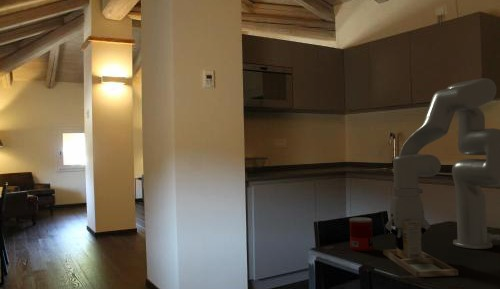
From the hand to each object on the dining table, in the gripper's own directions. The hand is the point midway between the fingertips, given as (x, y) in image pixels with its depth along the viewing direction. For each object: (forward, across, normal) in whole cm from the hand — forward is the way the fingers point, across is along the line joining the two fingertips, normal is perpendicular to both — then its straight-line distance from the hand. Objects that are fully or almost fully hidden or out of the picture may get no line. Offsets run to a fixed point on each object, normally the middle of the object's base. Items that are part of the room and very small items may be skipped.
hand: (408, 248), depth 129 cm
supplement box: (+4, 0, 0) cm, 4 cm away
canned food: (+4, +11, -14) cm, 19 cm away
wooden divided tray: (+3, 0, +6) cm, 7 cm away
